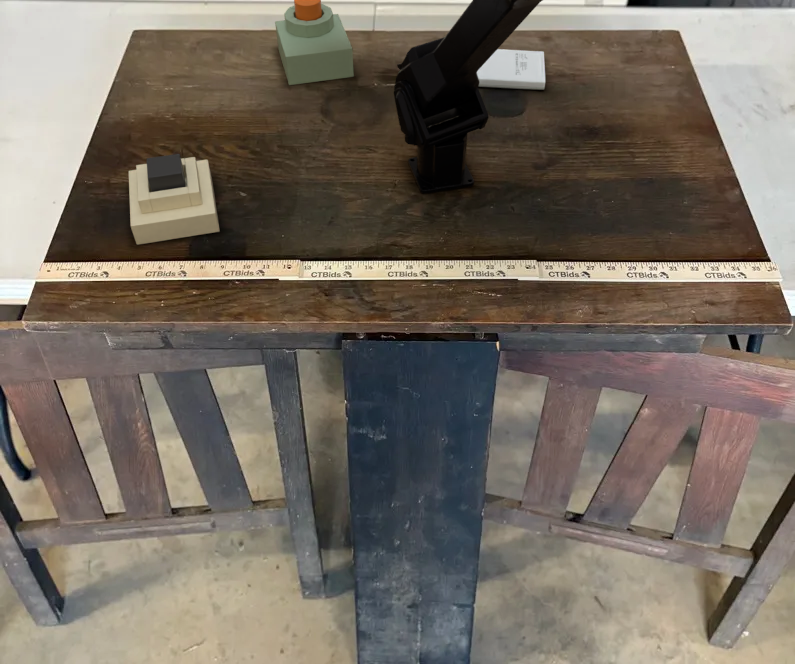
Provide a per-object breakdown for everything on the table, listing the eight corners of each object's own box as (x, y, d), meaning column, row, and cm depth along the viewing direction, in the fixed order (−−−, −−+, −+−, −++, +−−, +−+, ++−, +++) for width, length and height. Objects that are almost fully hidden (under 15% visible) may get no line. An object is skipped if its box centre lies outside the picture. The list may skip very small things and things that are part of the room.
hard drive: (454, 56, 113) (542, 60, 112) (451, 87, 108) (544, 91, 107) (455, 45, 112) (544, 49, 111) (452, 76, 107) (545, 80, 106)
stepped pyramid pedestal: (219, 231, 88) (212, 199, 85) (136, 245, 87) (126, 213, 83) (211, 177, 95) (204, 145, 91) (134, 189, 93) (124, 157, 90)
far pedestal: (353, 76, 110) (351, 35, 105) (288, 85, 108) (284, 44, 104) (338, 39, 117) (336, -2, 112) (277, 46, 115) (272, 6, 111)
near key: (185, 188, 87) (181, 172, 85) (151, 193, 86) (147, 177, 85) (183, 168, 89) (179, 153, 88) (150, 173, 88) (146, 158, 87)
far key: (324, 20, 109) (322, 3, 107) (297, 23, 108) (296, 6, 106) (319, 8, 111) (318, -9, 109) (293, 11, 110) (292, -6, 109)
